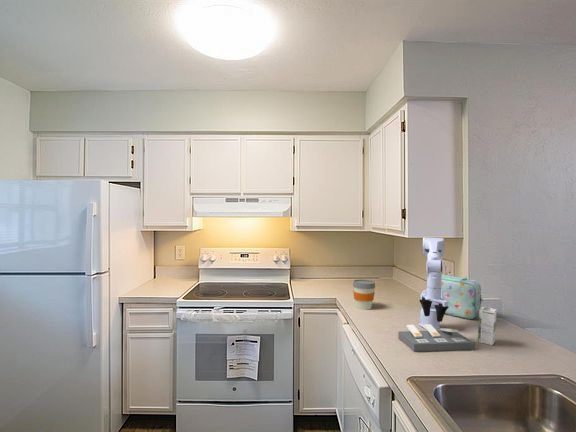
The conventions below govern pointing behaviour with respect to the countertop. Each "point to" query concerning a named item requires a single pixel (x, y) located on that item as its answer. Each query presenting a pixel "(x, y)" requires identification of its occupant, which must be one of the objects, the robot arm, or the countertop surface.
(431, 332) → the rocker middle
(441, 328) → the rocker
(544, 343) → the countertop surface
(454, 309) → the lunch box
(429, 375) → the countertop surface
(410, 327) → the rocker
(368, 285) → the reusable coffee cup
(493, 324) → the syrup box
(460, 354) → the countertop surface
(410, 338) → the power strip
